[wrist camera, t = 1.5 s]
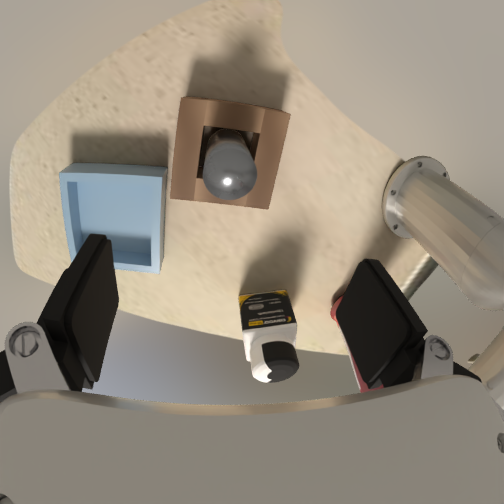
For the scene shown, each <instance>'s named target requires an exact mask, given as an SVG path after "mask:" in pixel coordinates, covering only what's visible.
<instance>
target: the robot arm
mask: <svg viewBox="0 0 504 504" xmlns="http://www.w3.org/2000/svg"><path fill="white" fill-rule="evenodd" d="M382 209H383V216H384V220H385V222H386V224H387V226H388V227H389V228H390V229H391V231H392V232H394V233H395V234H396V235H397V236H399V237H402V238H407V239H409V238H414V239H415V240H416V241H417V242H418V243H419V244H420V245H421V246H422V247H423V248H424V249H425V250H426V251H427V252H428V253H429V254H430V256H431V257H432V258H433V259H434V260H435V261H436V262H437V263H438V264H439V265H440V267H441V268H442V269H443V270H444V271H445V272H446V273H447V275H448V276H449V277H450V278H451V279H452V280H453V282H454V283H455V284H456V285H457V286H458V287H459V289H460V290H461V291H462V292H463V293H464V295H465V296H466V297H467V298H468V300H469V301H470V302H471V303H473V304H474V305H475V306H477V307H478V308H480V309H483V310H490V311H498V310H499V311H500V310H504V218H502V217H501V216H500V215H498V214H497V213H496V212H495V211H493V210H492V209H490V208H489V207H488V206H487V205H485V204H484V203H482V202H481V201H480V200H478V199H477V198H475V197H474V196H472V195H471V194H470V193H468V192H467V191H465V190H464V189H462V188H461V187H459V186H458V185H456V184H454V183H453V182H451V181H450V178H449V175H448V172H447V171H446V169H445V167H444V166H443V165H442V164H441V163H440V162H438V161H437V160H435V159H433V158H431V157H427V156H418V157H414V158H411V159H410V160H408V161H406V162H404V163H403V164H402V165H401V166H400V167H399V168H398V169H397V170H396V171H395V172H394V174H393V175H392V177H391V178H390V180H389V182H388V184H387V187H386V189H385V192H384V196H383V204H382ZM118 303H119V296H118V290H117V283H116V276H115V269H114V260H113V251H112V242H111V240H110V239H107V237H106V235H104V234H92V233H91V234H90V235H89V236H88V237H87V239H86V240H85V242H84V244H83V245H82V247H81V248H80V250H79V252H78V253H77V255H76V256H75V258H74V260H73V261H72V263H71V265H70V266H69V268H67V269H66V270H65V271H64V272H63V274H62V276H61V277H60V279H59V281H58V283H57V284H56V286H55V288H54V290H53V292H52V294H51V296H50V297H49V300H48V302H47V303H46V305H45V307H44V309H43V311H42V313H41V315H40V317H39V319H38V322H37V324H36V323H33V322H23V323H20V324H18V325H16V326H15V327H13V328H12V329H11V331H9V333H8V335H7V337H6V340H5V350H4V351H2V352H0V504H504V326H503V328H502V330H501V331H500V332H499V334H498V335H497V336H496V337H495V338H494V340H493V341H492V342H491V343H490V344H489V346H488V347H487V348H486V349H485V350H484V351H483V352H482V353H481V355H480V356H479V357H478V358H477V359H476V360H475V361H474V363H473V364H472V365H471V366H470V367H469V368H468V370H467V369H465V368H464V367H462V366H460V365H459V364H457V363H455V362H454V361H453V352H452V349H451V347H450V346H449V344H448V343H447V342H446V341H445V340H444V339H442V338H441V337H438V336H436V335H430V336H428V337H427V338H426V340H424V338H423V336H424V335H425V334H426V333H427V331H428V330H427V329H426V327H425V326H424V324H423V323H422V321H421V320H420V318H419V316H418V315H417V313H416V312H415V311H414V309H413V307H412V306H411V305H410V303H409V302H408V300H407V299H406V297H405V296H404V294H403V293H402V292H401V290H400V289H399V287H398V286H397V285H396V283H395V282H394V280H393V279H392V278H391V276H390V275H389V274H388V272H387V271H386V270H385V268H384V267H383V266H382V264H381V263H380V262H379V261H378V260H374V259H364V260H363V261H362V262H360V263H359V265H358V267H357V269H356V271H355V273H354V275H353V277H352V279H351V281H350V283H349V285H348V288H347V290H346V292H345V294H344V296H343V298H342V300H341V302H340V303H339V305H338V307H337V309H336V319H337V321H338V324H339V326H340V328H341V330H342V333H343V335H344V337H345V339H346V342H347V344H348V346H349V349H350V351H351V353H352V356H353V358H354V361H355V363H356V365H357V368H358V370H359V373H360V375H361V377H362V380H363V381H364V382H365V383H366V384H367V386H368V389H374V388H379V387H380V386H381V385H382V384H383V387H384V388H382V389H378V390H373V391H368V392H362V393H357V394H351V395H345V396H339V397H332V398H325V399H317V400H309V401H299V402H288V403H275V404H255V405H196V404H178V403H164V402H153V401H144V400H135V399H126V398H119V397H112V396H106V395H99V394H92V393H85V392H82V388H88V389H92V388H93V384H94V382H98V380H99V377H100V373H101V368H102V364H103V359H104V355H105V351H106V347H107V343H108V339H109V336H110V332H111V329H112V325H113V321H114V318H115V315H116V311H117V308H118Z"/></svg>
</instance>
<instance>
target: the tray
mask: <svg viewBox="0 0 504 504" xmlns="http://www.w3.org/2000/svg"><path fill="white" fill-rule="evenodd" d="M167 174H168V167H160V166H146V165H128V164H103V163H72V164H71V165H69V166H68V167H66V168H65V169H64V170H62V171H61V172H59V178H60V190H61V200H62V209H63V216H64V223H65V230H66V236H67V242H68V247H69V252H70V257H71V262H72V261H73V260H74V258H75V256H76V255H77V253H78V252H79V250H80V248H81V247H82V245H83V244H84V242H85V240H86V239H87V237H88V236H89V235H90V234H91V233H92V234H104V235H106V237H107V239H110V240H111V242H112V251H113V260H114V269H119V270H128V271H137V272H147V273H156V274H160V271H161V266H162V262H163V258H164V226H165V203H166V187H167Z"/></svg>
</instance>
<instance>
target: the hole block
mask: <svg viewBox="0 0 504 504" xmlns="http://www.w3.org/2000/svg"><path fill="white" fill-rule="evenodd" d="M290 115H291V114H289V113H286V112H284V111H282V110H277V109H272V108H267V107H262V106H256V105H250V104H244V103H238V102H231V101H224V100H216V99H208V98H198V97H187V96H186V97H182V98H181V102H180V108H179V115H178V123H177V131H176V139H175V148H174V157H173V168H172V179H171V192H170V199H180V200H190V201H200V202H209V203H219V204H227V205H236V206H244V207H252V208H260V209H269V205H270V200H271V196H272V192H273V188H274V184H275V179H276V175H277V171H278V167H279V162H280V158H281V154H282V150H283V145H284V141H285V137H286V132H287V128H288V124H289V120H290ZM205 126H213V127H221V128H228V129H235V130H242V131H249V132H254V134H253V139H252V144H251V149H250V154H251V156H252V158H253V161H254V163H255V165H256V168H257V180H256V183H255V185H254V187H253V189H252V190H251V191H250V192H249V193H248V194H247V195H245V196H243V197H241V198H239V199H235V200H224V199H220V198H217V197H215V196H214V195H212V194H211V193H210V192H209V191H208V189H207V188H206V186H205V184H204V181H203V169H204V167H199V162H200V154H201V147H202V140H203V134H204V127H205Z"/></svg>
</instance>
